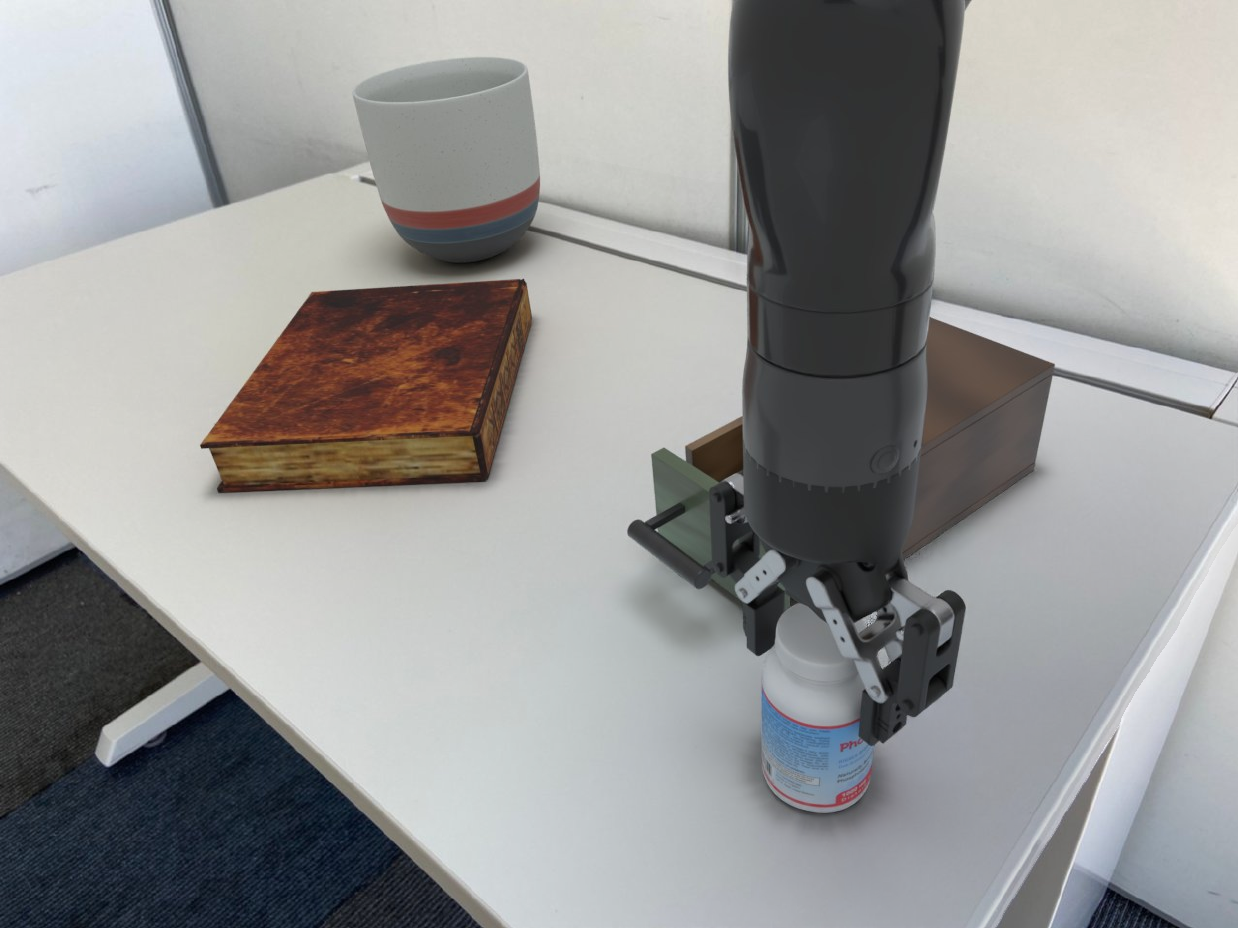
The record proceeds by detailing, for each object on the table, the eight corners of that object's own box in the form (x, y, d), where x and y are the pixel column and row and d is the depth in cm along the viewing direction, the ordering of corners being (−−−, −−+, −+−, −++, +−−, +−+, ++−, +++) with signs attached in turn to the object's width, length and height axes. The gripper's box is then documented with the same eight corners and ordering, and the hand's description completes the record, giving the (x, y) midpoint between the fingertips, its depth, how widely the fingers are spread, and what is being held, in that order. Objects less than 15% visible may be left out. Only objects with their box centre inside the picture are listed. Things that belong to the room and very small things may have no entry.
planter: (582, 233, 124) (561, 60, 111) (485, 297, 110) (449, 108, 98) (463, 215, 133) (432, 53, 121) (361, 271, 120) (314, 96, 108)
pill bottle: (862, 830, 51) (875, 688, 44) (750, 801, 53) (748, 662, 46) (877, 741, 55) (892, 601, 49) (774, 718, 57) (775, 580, 51)
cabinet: (894, 566, 67) (906, 456, 61) (760, 483, 76) (759, 381, 71) (1034, 470, 74) (1055, 363, 69) (896, 405, 84) (905, 307, 78)
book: (488, 481, 80) (478, 432, 77) (218, 492, 82) (198, 445, 79) (533, 320, 104) (526, 278, 101) (322, 332, 106) (310, 292, 104)
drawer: (726, 662, 60) (722, 571, 55) (610, 566, 68) (598, 480, 64) (929, 524, 69) (941, 436, 64) (804, 455, 77) (807, 372, 73)
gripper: (1033, 462, 37) (979, 732, 47) (774, 342, 47) (773, 585, 56) (908, 547, 34) (877, 819, 43) (657, 399, 44) (676, 647, 53)
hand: (818, 686), depth 50 cm, fingers open, 7 cm apart
